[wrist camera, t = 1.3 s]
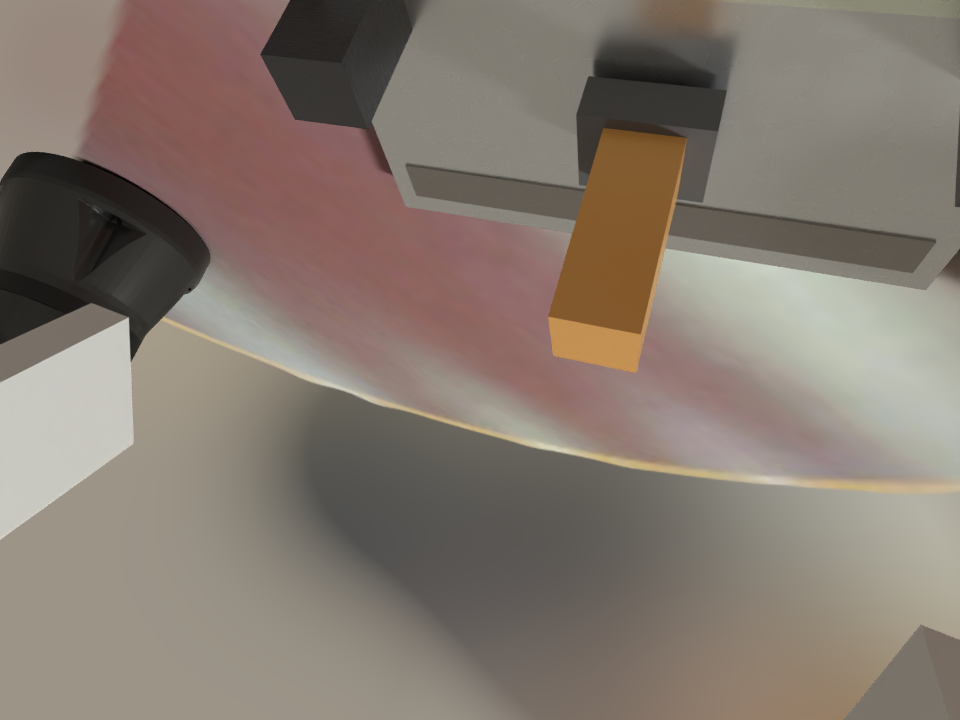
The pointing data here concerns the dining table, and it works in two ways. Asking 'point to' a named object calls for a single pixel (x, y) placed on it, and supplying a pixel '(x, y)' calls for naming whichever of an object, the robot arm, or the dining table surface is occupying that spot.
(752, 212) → the tray
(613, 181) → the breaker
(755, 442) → the dining table surface
